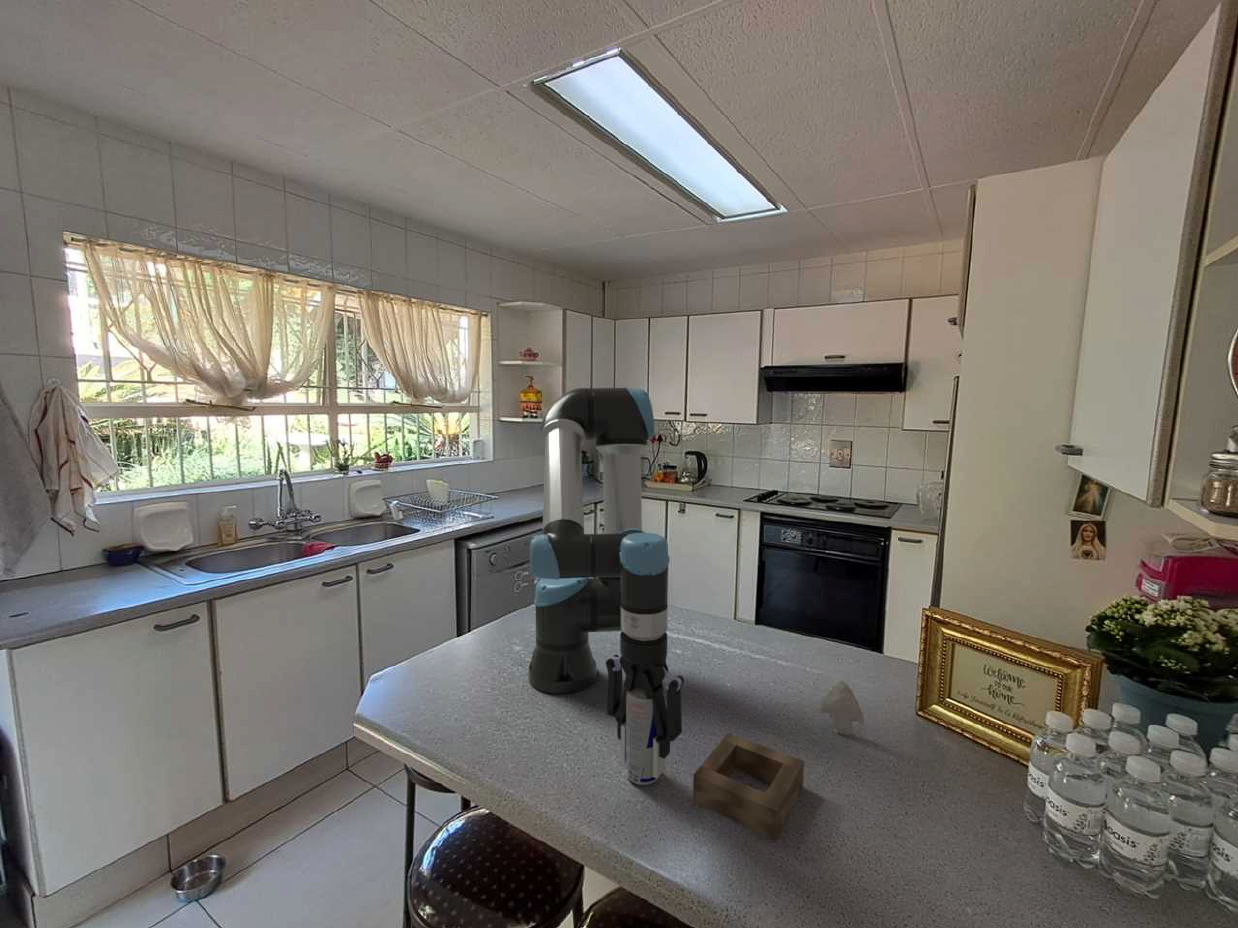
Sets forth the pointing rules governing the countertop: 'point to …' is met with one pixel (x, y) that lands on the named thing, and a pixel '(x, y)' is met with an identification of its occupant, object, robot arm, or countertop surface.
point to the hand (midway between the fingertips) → (642, 765)
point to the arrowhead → (842, 708)
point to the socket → (742, 800)
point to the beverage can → (639, 737)
